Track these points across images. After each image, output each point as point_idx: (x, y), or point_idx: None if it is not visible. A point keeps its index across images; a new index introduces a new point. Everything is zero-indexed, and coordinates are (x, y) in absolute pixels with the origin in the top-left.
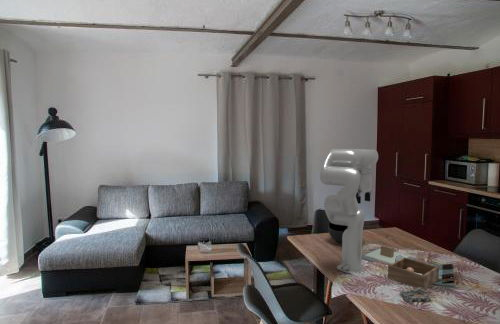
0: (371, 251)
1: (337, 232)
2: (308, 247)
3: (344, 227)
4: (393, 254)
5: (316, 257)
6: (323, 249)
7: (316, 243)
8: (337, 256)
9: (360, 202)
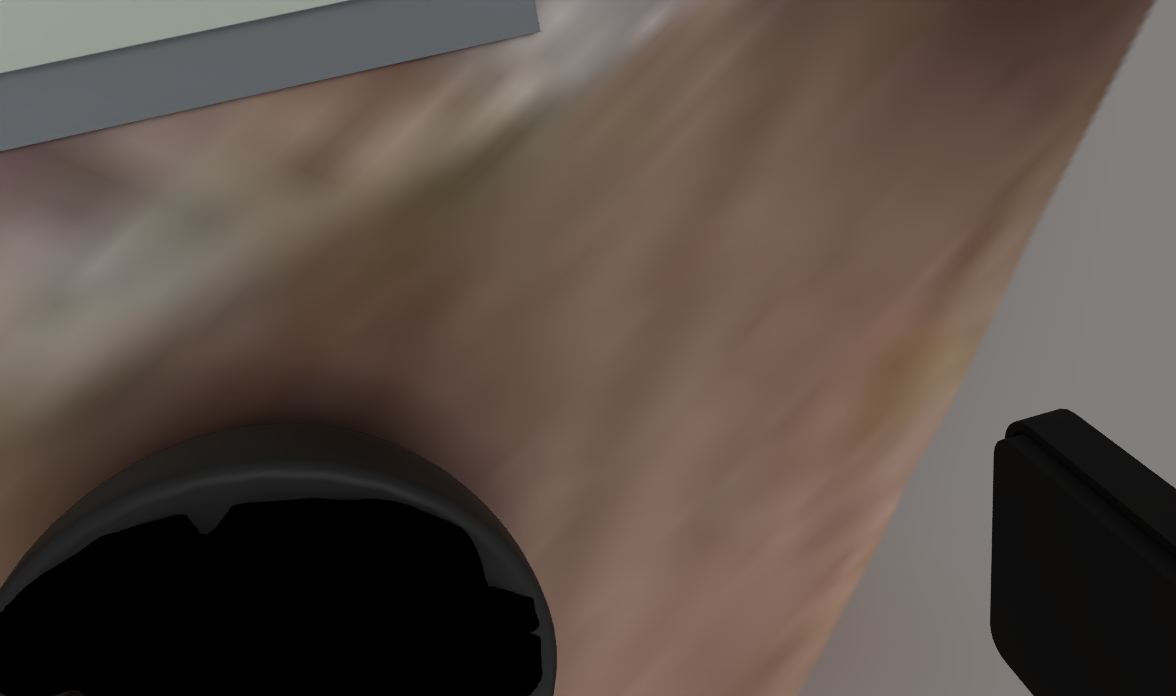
0: (171, 95)
1: (535, 577)
2: (793, 560)
3: (474, 578)
4: None
5: (963, 275)
6: (699, 453)
7: (618, 638)
8: (740, 193)
9: (1064, 433)
